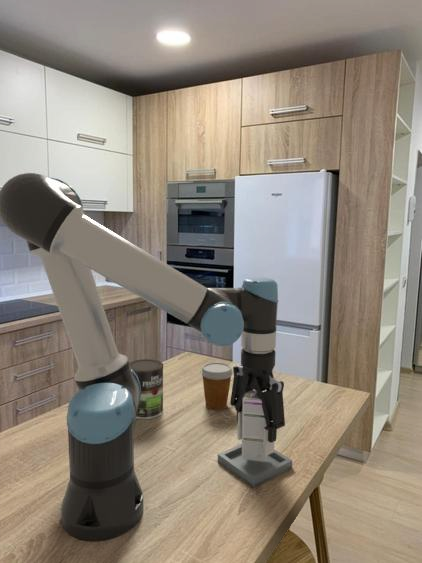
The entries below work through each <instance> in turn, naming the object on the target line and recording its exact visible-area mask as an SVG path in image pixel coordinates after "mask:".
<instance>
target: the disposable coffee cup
mask: <svg viewBox="0 0 422 563" xmlns="http://www.w3.org/2000/svg"><path fill="white" fill-rule="evenodd" d="M200 373H201V376H202V381H203V384H202V385H203V392H204V399H205V400H204V401H205V406H206V408H207V409H209V410H214V411H220V410H224V409H226V408H227V406H228V400H229V399H228V398H229V392H230V386H231V380H232V376H233V375H234V372H233V368H232V366H231V365H230V364H227V363H225V362H208V363H205V364H203V365H202V369H201V370H200Z"/></svg>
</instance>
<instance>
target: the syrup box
mask: <svg viewBox="0 0 422 563" xmlns="http://www.w3.org/2000/svg"><path fill="white" fill-rule="evenodd" d="M265 391H266V390H264V391H262V392H265ZM265 426H267V425H266V421H265V416H264V412H263V408H262V401H261V399H260V397H258V395H257V391H256V390H254V389H253V390H251V391H249V392H246V393H245V394H244V396H243V408H242V439H241V444H242V459H246V460H253V461H261V462H267V457H268V455H267V456H264V455H263V433H264V427H265Z"/></svg>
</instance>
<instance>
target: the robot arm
mask: <svg viewBox="0 0 422 563" xmlns="http://www.w3.org/2000/svg"><path fill="white" fill-rule="evenodd" d="M0 220H1V221H2V223H3V224H4V226H5V227H6V228H7V229H8V230H9V231H10V232H12V233H13V234H14V235H16V236H18V237H20V238H21V239H23V240H25V241H26V243H27V247H28V250H29V252H30V253H31V254H32V255H34V256H36V257H39V258H40V259H41V261H42V265H43V268H44V270H45V274H46V276H47V277H46V278H47V279H48V282H49V286H50V289H51V291H52V294H53V296H54V300H55V302H56V305H57V309H58V311H59V315H60V317H61V320H62V322H63V326H64V329H65V332H66V334H67V336H68V340H69V342H70V346H71V348H72V352H73V354H74V358H75V360H76V363H77V366H78V368H77V370H76V372H75V374H74V377H73V378H74V380H75V384H76V386H77V389H78V391H76V393H75V394H73V395H72V396H71V398H70V400H69V402H68V405H67V413H66V425H67V433H68V435H67V438H68V440H67V441H68V463H69V464H68V465H69V481H68V484H67V486H66V490H65V493H64V496H63V500H62V503H61V509H60V515H61V516H60V517H61V525H62V528H63V530H64V531H66V533H67V534H69V535H70V536H71V537H74V538H75V539H79V540H82V541H90V542H93V541H95V542H97V541H104V540H105V541H106V540H109V539H113V538H116V537H119V536H120V535H122V534H124V533H126V532H128V531H129V530H130V529H132V528H133V527H134V526H135V525H136V524H137V523H138V522H139V521H140V519H141V517H142V516H143V512H144V503H145V502H144V493H143V490H142V487H141V485H140V482H139V479H138V476H137V475H136V472H135V464H134V463H135V462H134V461H135V460H134V459H135V454H134V453H135V450H134V448H135V447H134V446H135V444H134V437H135V436H134V432H135V425H136V420H137V419H136V415H137V409H138V405H139V402H140V398H141V386H140V382H139V379H138V377H137V375H136V374H135V372H134V371H133V370H132V369H131V367H130V364H129V363H130V361H129V359H128V357H127V355H124V354H121V353H119V350H118V347H117V345H116V342H115V339H114V335H113V332H112V329H111V327H110V323H109V321H108V320H109V319H108V317H107V314H106V311H105V309H104V306H103V302H102V300H101V296H100V293H99V290H98V289H99V288H97V286H98V285H97V284H96V281H95V278H94V274H93V272H92V271H94V272H96V273H97V274H99V275H101V276H102V277H104V278H106V279H108V280H110V281H112V282H113V283H115V284H116V285H118V286H120V287H122V288H123V289H125V290H127V291H128V292H130V293H132V294H134V295H135V296H138V298H141V299H142V300H144V301H146V302H147V303H150V304H152V305H153V306H155V307H157V308H158V309H161V310H162V311H164V312H165V313H168V314H169V315H171V316H173V317H174V318H176V319H178V320H180V321H181V322H184V323H185V324H186V325H188V326H189V327H191V328H192V329H195V330H196V331H198V332H200V333H202V335H203V337H204V338H205V339H206V340H207V341H208V342H209V343H210V344H212V345H215V346H218V347H227V346H231V345H233V344H235V343H236V342H237V341H238V340H239V339H240V338H241V339H240V346H241V347H242V348H241V349H240V365H236V366H233V368H232V371H233V381H232V388H231V393H230V394H231V396H230V402H229V403H230V406H231V407H233V406H234V408H235V411H236V419H235V420H236V424H237V432H236V434H237V436H236V437H237V440H239V441H242V408H243V396H244V394H245V393H246V392H249V391H251V390H253V389H254V390H256V391H257V395H258V397H260V399H261V401H262V408H263V412H264V416H265V421H266V425H267V426H265V427H264V433H263V455H264V456H267V455H269V454H271V453H273V452H274V450H275V442H276V441H277V436H278V435H277V434H278V433H277V432H278V429H280V428H283V427H285V426H286V418H285V406H284V396H283V395H284V394H283V391H284V387H285V383H284V381H282V380H281V381H277V380H276V379H275V378H274V374H273V373H274V372H273V370H274V368H275V366H276V354H277V353H276V350H275V349H276V348H277V347H276V345H277V320H278V319H277V317H278V306H279V305H278V304H279V299H278V298H279V297H278V296H279V292H278V288H279V287H278V284H277V282H276V281H275V280H274V279H272V278H267V277H247V278H245V279H244V280H243V281H242V284H241V287H235V288H234V287H206V286H204V285H203V284H201V283H199V282H198V281H196V280H194V279H193V278H191V277H189V276H188V275H186V274H184V273H183V272H180V271H179V270H177V269H175V268H174V267H172V266H170V265H169V264H167V263H165V262H164V261H162V260H160V259H159V258H157V257H155V256H153V255H152V254H150V253H149V252H147V251H145V250H144V249H142V248H141V247H139V246H137V245H135V244H133V243H132V242H130V241H129V240H127V239H126V238H124V237H122V236H121V235H118V234H117V233H115V232H113V231H112V230H110V229H109V228H106V227H105V226H103V225H101V224H100V223H98V222H97V221H95V220H93V219H91V218H90V217H89V216H87V215H85V212H84V205H83V202H82V200H81V197H80V195H79V194H78V193H77V190H75V189H74V188H73V187H72V186H71V185H69V184H68V183H67V182H66V181H63V180H62V179H61V180H60V179H58V178H56V177H55V178H54V177H48V176H46V175H43V174H39V173H35V172H27V173H26V172H25V173H20V174H17V175H15V176H13V177H11V178H10V179H8V180H6V182H5V183H4V184H3V185H2V187H1V188H0ZM264 390H266V391H265V392H262V391H264Z"/></svg>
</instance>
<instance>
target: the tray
mask: <svg viewBox="0 0 422 563" xmlns="http://www.w3.org/2000/svg"><path fill="white" fill-rule="evenodd" d="M217 462H218V463H219V464H221V465H222V467H224V468H226V469H228V470H229V471H230V472H232V473H233V474H235V476H236V477H238V478H239V479H240V480H242V481H244V482H245V483H246V484H248V485H249V486H251V487H252V488H253V489H254V488H256V487H258V486H260V485H262V484H264V483H265V482H268V481H269V480H271V479H273V478H275V477H277V476H279V475H281V474H283V473H285V472H286V471H288V470H290V469H293V459H291V458H290V457H287V456H286V455H284V454H283V453H281V452H279V451H277V449H274V452H273V453H271V454H269V455H268V457H267V462H261V461H253V460H246V459H242V443H241V444H240V443H239V444H238V445H236V446H234V447H231V448H229V449H227V450H225V451H221V452H220V453H217Z"/></svg>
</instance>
